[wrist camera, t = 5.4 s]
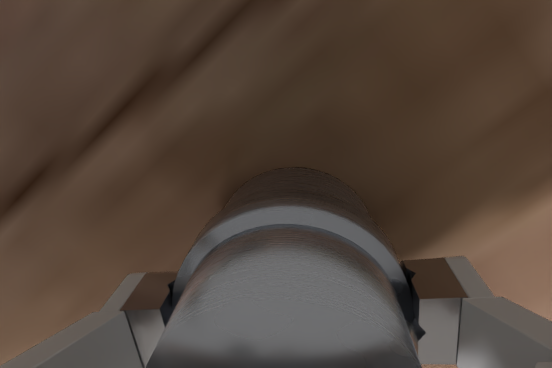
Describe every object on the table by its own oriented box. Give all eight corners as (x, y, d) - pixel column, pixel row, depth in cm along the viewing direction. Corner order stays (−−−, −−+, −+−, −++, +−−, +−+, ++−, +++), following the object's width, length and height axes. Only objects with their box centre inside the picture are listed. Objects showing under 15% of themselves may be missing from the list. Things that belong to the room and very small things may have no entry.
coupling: (225, 312, 13) (164, 510, 8) (195, 166, 11) (83, 290, 6) (384, 306, 13) (444, 519, 7) (382, 150, 11) (463, 273, 5)
